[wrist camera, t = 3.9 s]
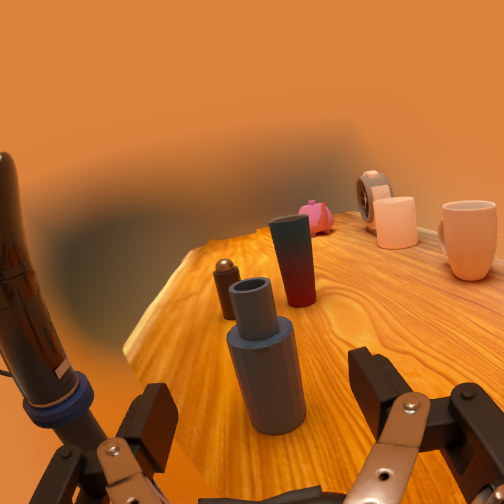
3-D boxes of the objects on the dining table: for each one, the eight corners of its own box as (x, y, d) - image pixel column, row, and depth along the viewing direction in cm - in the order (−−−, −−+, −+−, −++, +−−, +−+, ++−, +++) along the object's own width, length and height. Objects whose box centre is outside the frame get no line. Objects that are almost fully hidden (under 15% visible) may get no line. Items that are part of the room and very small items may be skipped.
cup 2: (370, 248, 74) (365, 204, 72) (387, 237, 81) (382, 198, 79) (410, 250, 65) (406, 202, 63) (422, 238, 72) (419, 196, 70)
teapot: (347, 232, 99) (342, 197, 97) (312, 241, 97) (305, 204, 94) (322, 227, 119) (317, 197, 116) (291, 234, 116) (285, 203, 113)
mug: (422, 270, 51) (417, 205, 49) (456, 257, 52) (453, 198, 50) (473, 291, 37) (473, 211, 34) (505, 273, 38) (506, 202, 35)
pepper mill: (223, 321, 50) (208, 264, 47) (224, 311, 54) (211, 258, 52) (248, 317, 49) (235, 259, 47) (248, 307, 54) (236, 253, 52)
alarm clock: (360, 229, 101) (351, 173, 96) (381, 225, 99) (373, 170, 95) (374, 238, 83) (365, 171, 79) (399, 234, 82) (391, 168, 78)
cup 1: (310, 311, 47) (296, 220, 44) (276, 308, 51) (260, 224, 48) (327, 294, 52) (315, 212, 49) (294, 292, 56) (281, 216, 53)
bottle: (251, 439, 23) (210, 304, 20) (250, 402, 28) (217, 280, 25) (310, 428, 22) (289, 289, 20) (301, 393, 28) (280, 268, 25)
